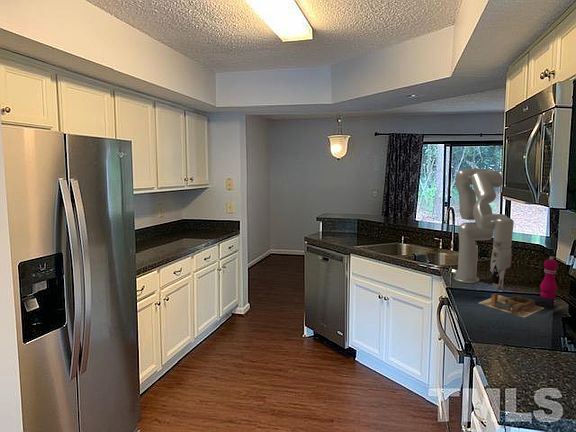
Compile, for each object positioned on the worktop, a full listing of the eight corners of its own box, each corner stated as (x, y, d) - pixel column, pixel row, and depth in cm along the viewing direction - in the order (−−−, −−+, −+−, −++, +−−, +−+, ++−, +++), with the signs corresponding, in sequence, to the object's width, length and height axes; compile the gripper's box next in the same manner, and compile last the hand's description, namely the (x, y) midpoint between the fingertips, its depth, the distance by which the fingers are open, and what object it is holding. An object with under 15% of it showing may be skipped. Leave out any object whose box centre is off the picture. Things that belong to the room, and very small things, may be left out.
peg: (490, 287, 204) (492, 267, 202) (495, 285, 207) (497, 265, 205) (499, 290, 201) (501, 269, 199) (504, 288, 203) (506, 267, 201)
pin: (490, 305, 196) (491, 294, 195) (493, 304, 198) (494, 293, 197) (508, 310, 190) (509, 299, 189) (511, 309, 191) (512, 298, 190)
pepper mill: (540, 293, 216) (544, 253, 213) (557, 296, 212) (561, 256, 209) (537, 297, 211) (541, 256, 208) (555, 300, 206) (559, 259, 203)
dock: (477, 305, 200) (478, 296, 199) (498, 297, 211) (499, 288, 210) (524, 320, 183) (525, 310, 183) (544, 310, 194) (545, 300, 193)
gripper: (500, 249, 192) (496, 288, 196) (519, 243, 201) (515, 280, 205) (484, 245, 198) (480, 284, 201) (503, 239, 207) (499, 276, 211)
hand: (498, 282), depth 203 cm, fingers closed on peg, 4 cm apart
